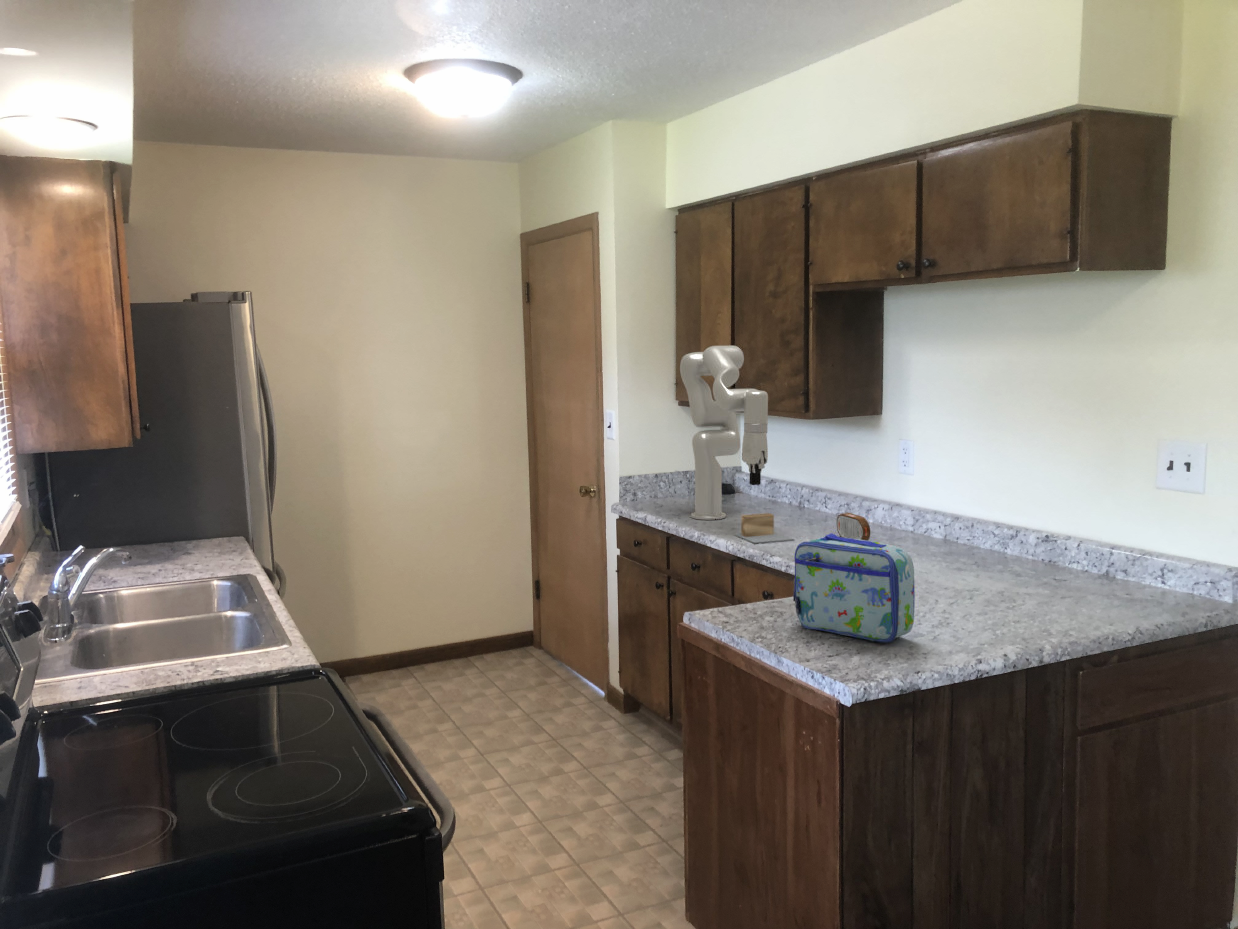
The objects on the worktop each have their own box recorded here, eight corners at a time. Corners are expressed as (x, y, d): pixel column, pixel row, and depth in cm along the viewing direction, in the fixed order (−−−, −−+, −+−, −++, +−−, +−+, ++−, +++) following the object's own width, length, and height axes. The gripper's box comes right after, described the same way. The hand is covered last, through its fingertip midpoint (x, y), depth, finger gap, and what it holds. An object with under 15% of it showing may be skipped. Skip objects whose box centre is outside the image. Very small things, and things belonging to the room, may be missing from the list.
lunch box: (786, 626, 214) (787, 534, 212) (814, 616, 222) (815, 527, 219) (891, 651, 196) (893, 551, 193) (917, 639, 203) (920, 543, 201)
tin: (871, 544, 298) (871, 518, 297) (862, 545, 297) (863, 518, 296) (842, 535, 312) (843, 510, 311) (834, 536, 311) (834, 511, 309)
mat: (733, 535, 315) (733, 533, 315) (771, 531, 319) (771, 530, 319) (754, 544, 301) (754, 542, 301) (794, 540, 305) (794, 538, 305)
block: (741, 534, 313) (741, 515, 312) (768, 532, 316) (768, 513, 315) (746, 536, 309) (746, 517, 308) (773, 534, 313) (773, 514, 312)
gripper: (735, 427, 317) (734, 481, 319) (756, 431, 303) (755, 488, 305) (755, 426, 319) (754, 480, 322) (777, 430, 305) (776, 487, 308)
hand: (755, 484), depth 313 cm, fingers closed
